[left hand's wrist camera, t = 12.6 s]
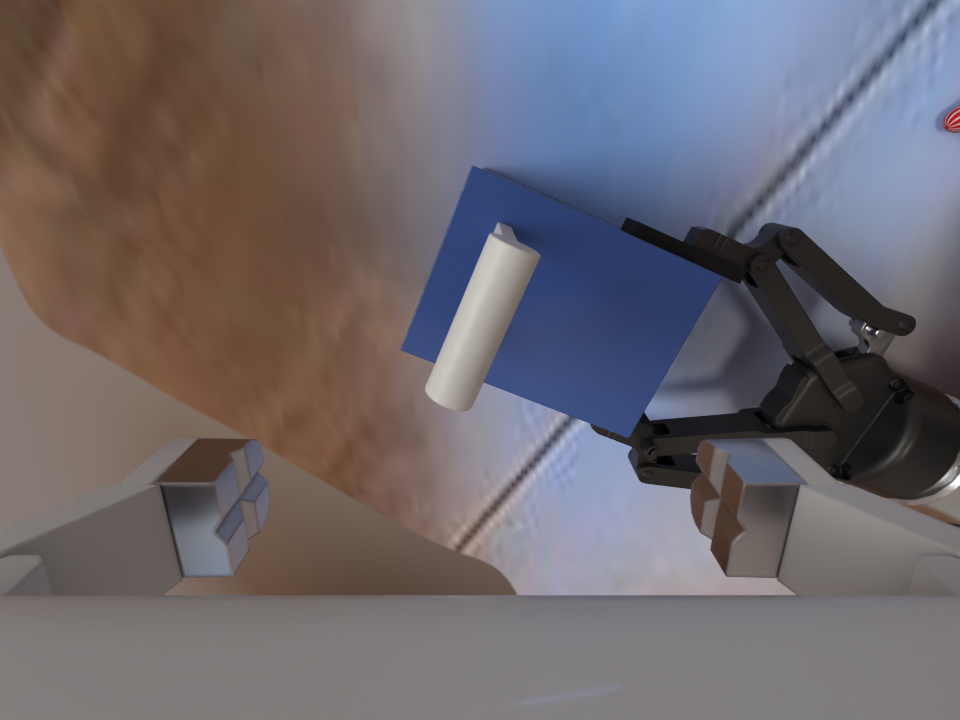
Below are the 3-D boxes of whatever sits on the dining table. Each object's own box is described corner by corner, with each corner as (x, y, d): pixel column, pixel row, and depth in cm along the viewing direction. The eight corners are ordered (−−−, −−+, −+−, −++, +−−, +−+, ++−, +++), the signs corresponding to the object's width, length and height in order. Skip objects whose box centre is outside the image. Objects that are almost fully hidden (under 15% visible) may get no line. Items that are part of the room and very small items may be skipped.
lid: (402, 344, 28) (369, 423, 20) (472, 165, 25) (468, 167, 17) (624, 430, 30) (681, 537, 21) (714, 272, 27) (822, 324, 18)
